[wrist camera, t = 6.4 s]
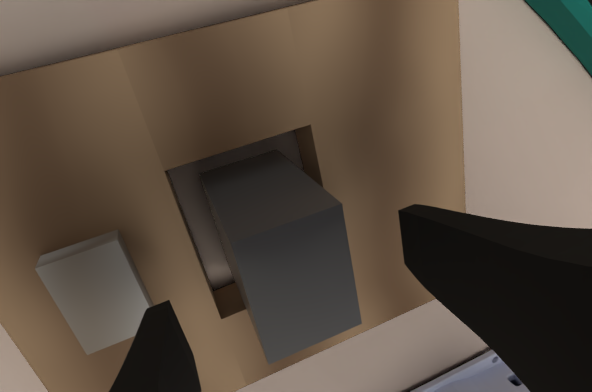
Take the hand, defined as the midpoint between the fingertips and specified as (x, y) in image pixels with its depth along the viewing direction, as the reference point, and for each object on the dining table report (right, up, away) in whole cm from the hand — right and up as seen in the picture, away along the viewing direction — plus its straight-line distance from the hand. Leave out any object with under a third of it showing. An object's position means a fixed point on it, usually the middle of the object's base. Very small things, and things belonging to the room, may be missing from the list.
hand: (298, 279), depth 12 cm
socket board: (-2, +2, +5) cm, 6 cm away
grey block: (-2, +2, +5) cm, 6 cm away
